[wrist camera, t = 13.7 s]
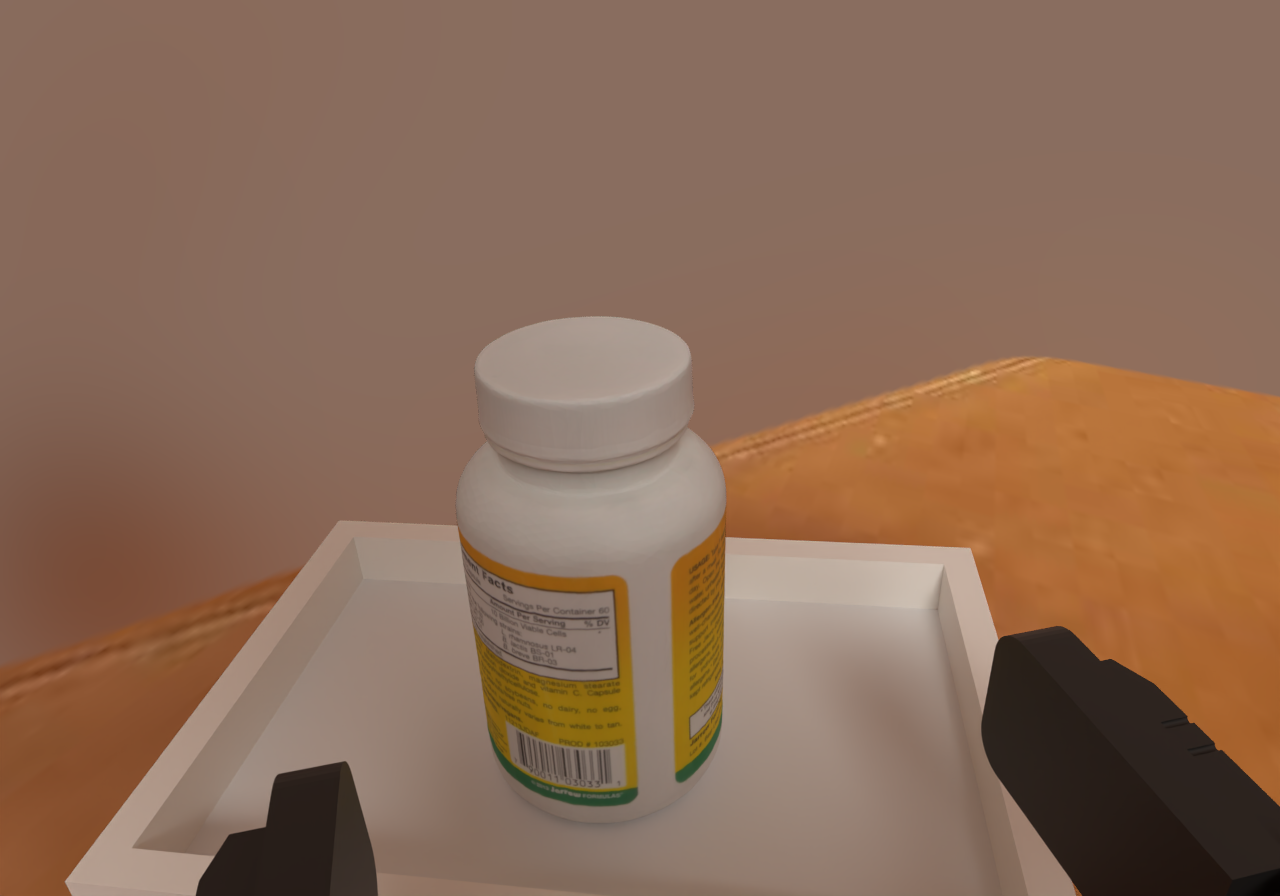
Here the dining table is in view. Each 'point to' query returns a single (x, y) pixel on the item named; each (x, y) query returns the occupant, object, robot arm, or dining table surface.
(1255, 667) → the dining table surface
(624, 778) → the supplement bottle
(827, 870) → the white footed tray
